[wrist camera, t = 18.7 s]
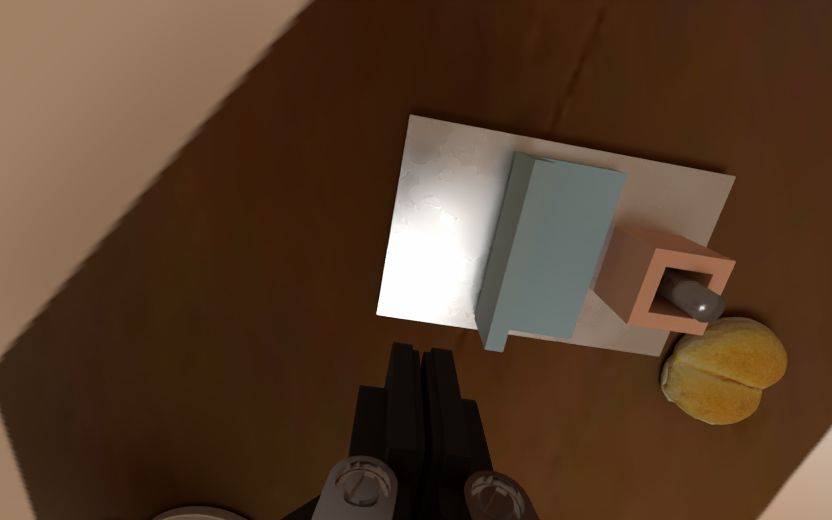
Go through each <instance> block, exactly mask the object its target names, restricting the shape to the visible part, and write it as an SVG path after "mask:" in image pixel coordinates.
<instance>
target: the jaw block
mask: <svg viewBox="0 0 832 520" xmlns="http://www.w3.org/2000/svg"><path fill="white" fill-rule="evenodd" d="M735 262H736V261H734V260H732V259H730V258H728V257H726V256H723V255H721V254H719V253H717V252H715V251H713V250H711V249H708V248H706V247H704V246H702V245H700V244H698V243H696V242H693V241H691V240H689V239H687V238H685V237H681V236H676V235H670V234H664V233H658V232H652V231H646V230H640V229H634V228H628V227H622V226H616V225H615V228H614V231H613V234H612V237H611V240H610V243H609V246H608V249H607V252H606V255H605V258H604V261H603V264H602V267H601V269H600V272H599V275H598V278H597V281H596V284H595V287H594V290H593V292H594V293H595V294H596V295H597V296H598V297H599V298H600V299H601V300H602V301H604V302H605V303H606V304H607V305H608V306H609V307H610V308H611V309H612V310H613V311H614V312H615V313H616V314H617V315H618V316H619V317H620V318H621V319H622V320H623V321H624V322H625V323H626V324H628V325H634V326H641V327H648V328H655V329H661V330H668V331H675V332H681V333H688V334H695V335H702V336H703V334H704V331H705V329H706V327H707V325H708V323H702V322H699V321H697V320H696V319H694V318H693V317H692V316H690V315H689V314H687V313H686V312H685V311H683V310H682V309H681V308H679V307H678V306H676V305H675V304H674V303H672V302H671V301H670V300H668V299H667V298H666V297H664V296H663V295H661V294H660V293H659V292H657V288H658V286H659V283H660V281H661V278H662V276H663V273H664V270H665V268H666V267H671V268H675V269H677V270H678V271H680V272H682V273H683V274H685V275H687V276H688V277H690V278H692V279H693V280H695V281H697V282H698V283H700V284H702V285H703V286H705V287H707V288H708V289H710V290H712V291H713V292H715V293H717V294H718V295H720V296H721V294H722V291H723V289H724V287H725V285H726V282H727V280H728V278H729V276H730V274H731V271H732V269H733V267H734V265H735Z"/></svg>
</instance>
